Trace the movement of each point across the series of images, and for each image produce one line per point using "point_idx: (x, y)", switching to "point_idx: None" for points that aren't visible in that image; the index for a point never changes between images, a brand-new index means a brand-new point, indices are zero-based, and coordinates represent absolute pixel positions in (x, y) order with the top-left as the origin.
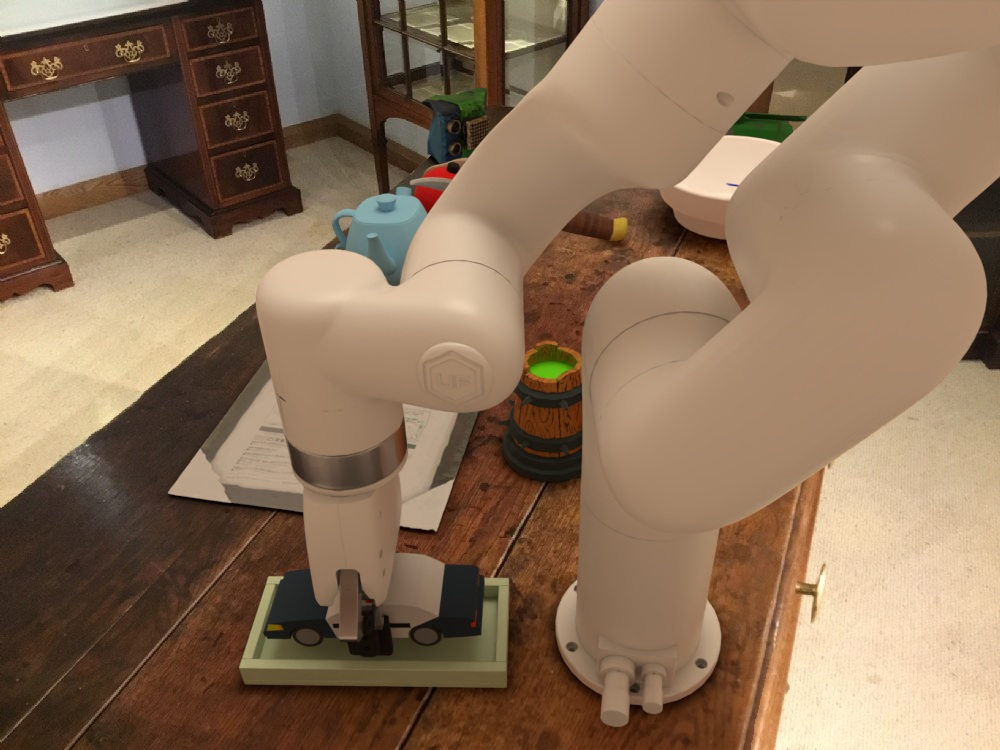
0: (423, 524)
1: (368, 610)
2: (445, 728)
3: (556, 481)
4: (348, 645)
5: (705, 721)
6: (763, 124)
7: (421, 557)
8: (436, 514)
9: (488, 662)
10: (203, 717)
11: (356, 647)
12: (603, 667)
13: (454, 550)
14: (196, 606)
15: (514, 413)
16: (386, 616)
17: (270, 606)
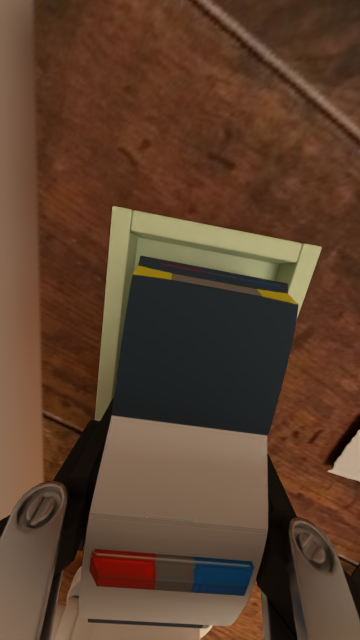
0: (346, 460)
1: (72, 549)
2: (56, 449)
3: (354, 574)
4: (107, 408)
5: (62, 604)
6: None
7: (221, 625)
8: (357, 474)
9: None
10: (76, 155)
11: (82, 434)
12: (58, 637)
13: (290, 478)
14: (306, 101)
15: None
16: (81, 546)
17: (248, 255)
